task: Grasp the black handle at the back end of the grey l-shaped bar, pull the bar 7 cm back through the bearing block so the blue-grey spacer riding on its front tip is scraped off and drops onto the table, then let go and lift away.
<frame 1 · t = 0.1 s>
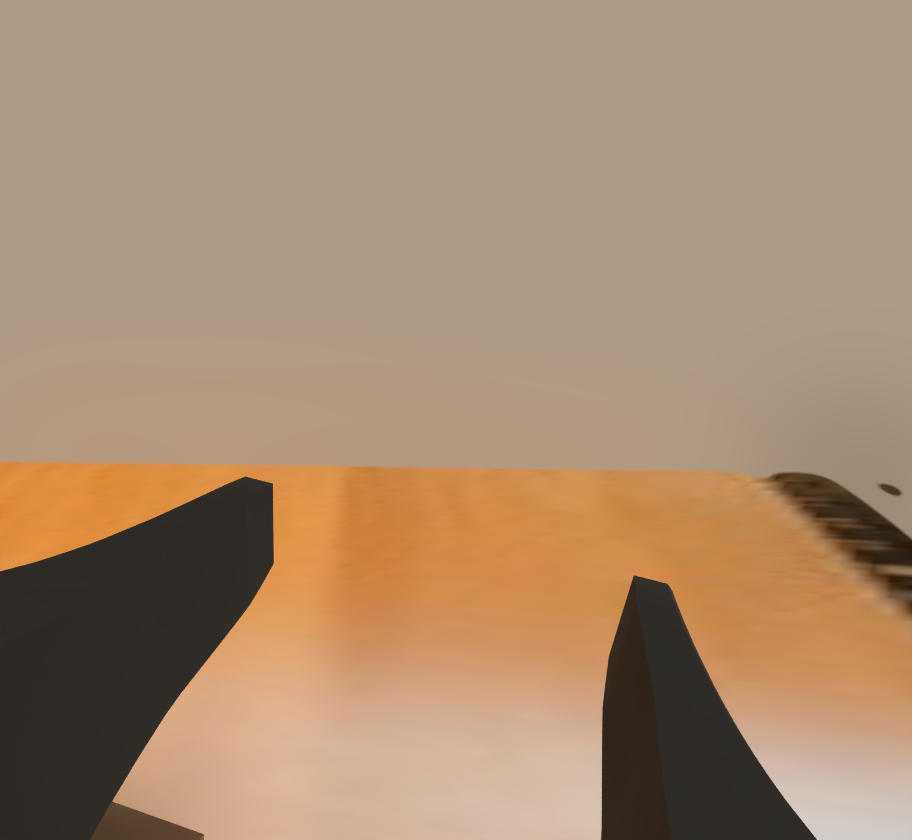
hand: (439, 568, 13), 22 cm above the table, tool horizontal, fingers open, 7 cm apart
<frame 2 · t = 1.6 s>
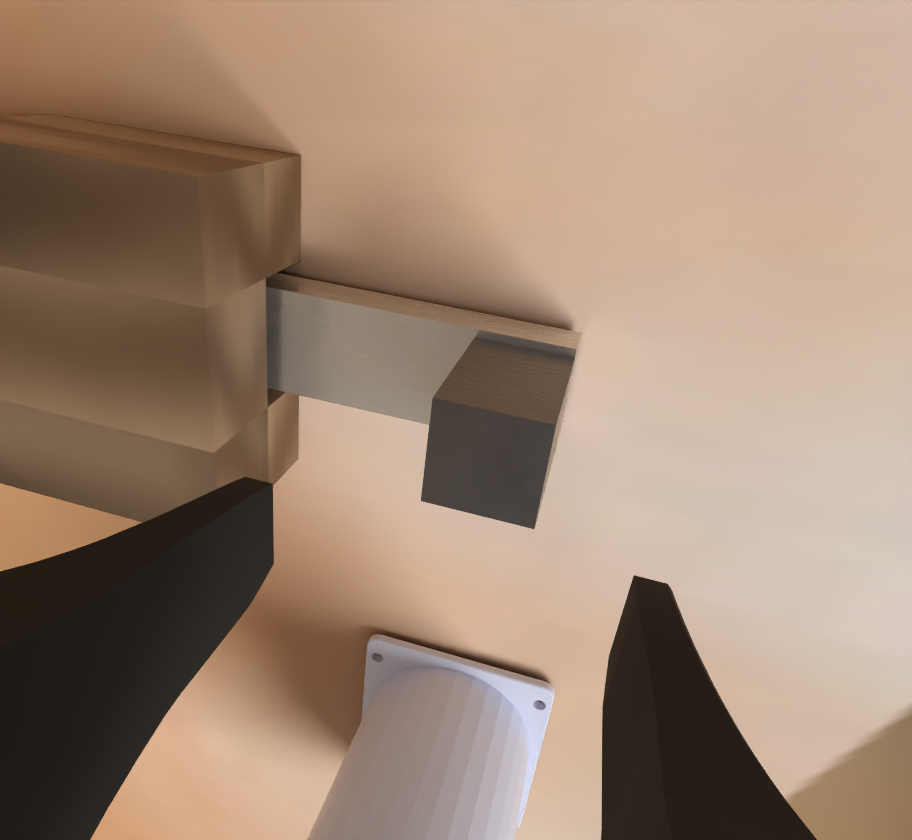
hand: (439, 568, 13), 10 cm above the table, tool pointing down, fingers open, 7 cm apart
grey l-shaped bar: (177, 340, 21), point 3 cm above the table, slide at 0.0 cm, touching spacer
bearing block: (182, 299, 24), on the table
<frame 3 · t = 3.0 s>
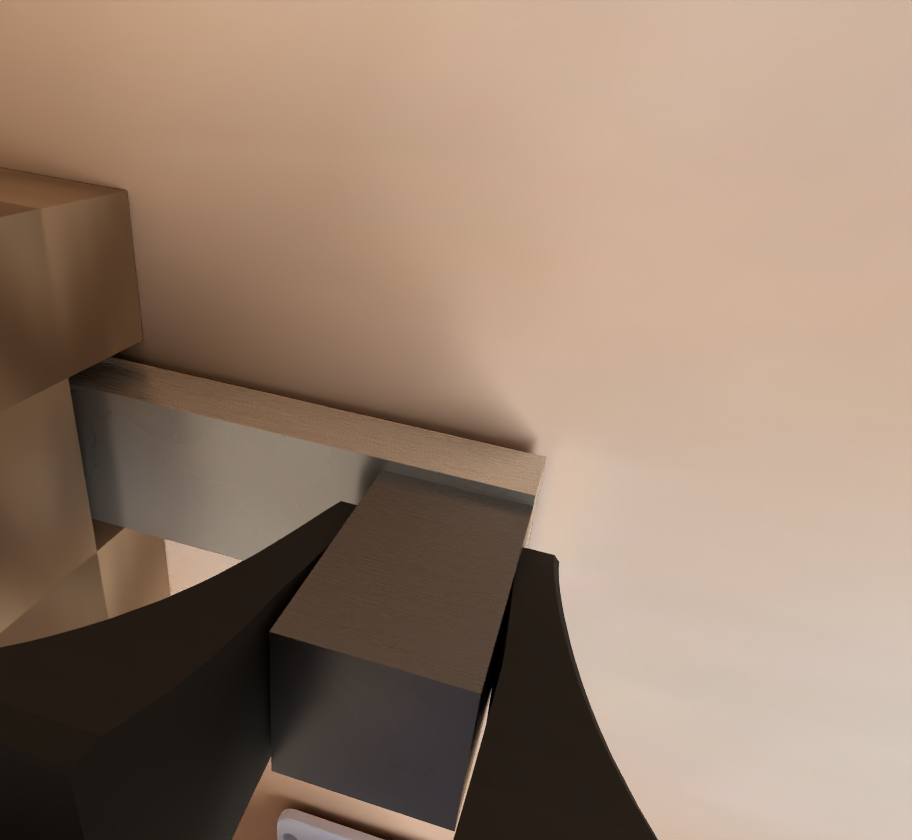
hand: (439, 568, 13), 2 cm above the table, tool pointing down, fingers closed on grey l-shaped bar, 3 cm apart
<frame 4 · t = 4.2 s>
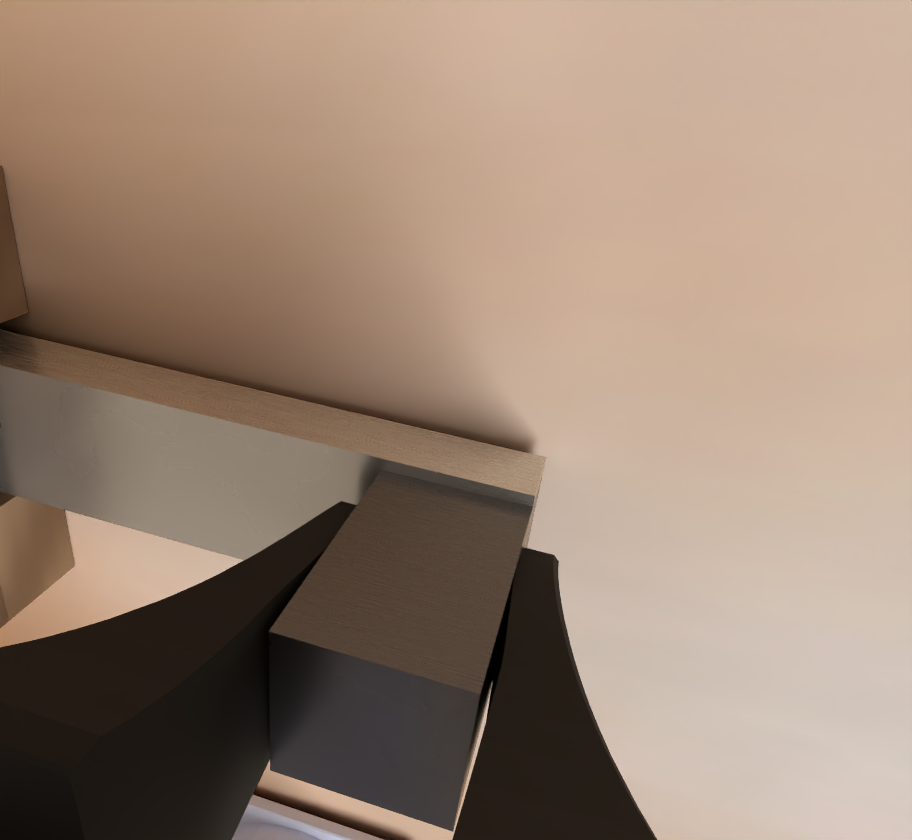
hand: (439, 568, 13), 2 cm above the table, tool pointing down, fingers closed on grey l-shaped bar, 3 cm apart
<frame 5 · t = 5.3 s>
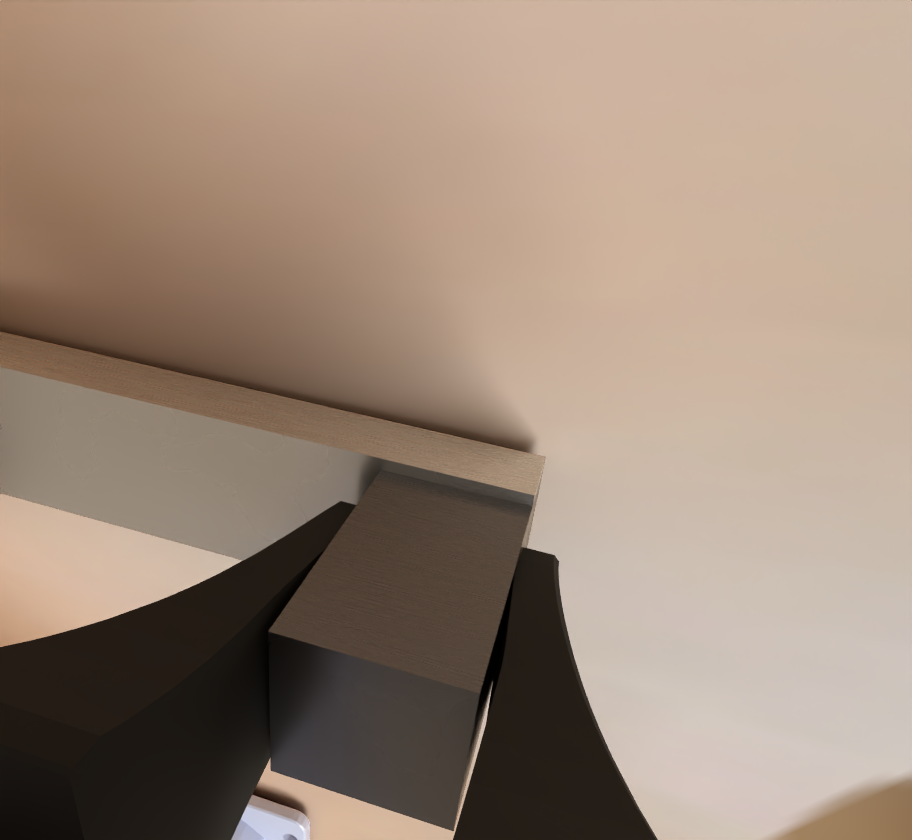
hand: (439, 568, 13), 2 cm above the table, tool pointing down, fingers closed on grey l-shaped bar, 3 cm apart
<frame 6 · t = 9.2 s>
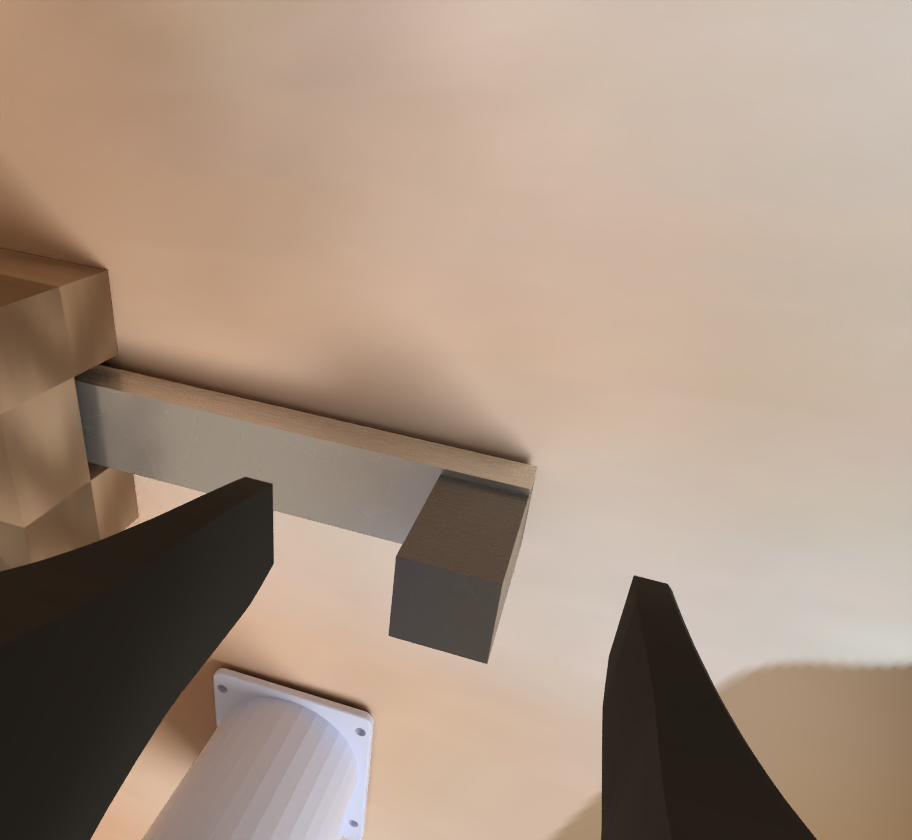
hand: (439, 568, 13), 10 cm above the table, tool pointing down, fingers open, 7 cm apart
grey l-shaped bar: (174, 472, 24), point 3 cm above the table, slide at 7.0 cm
bearing block: (27, 381, 28), on the table
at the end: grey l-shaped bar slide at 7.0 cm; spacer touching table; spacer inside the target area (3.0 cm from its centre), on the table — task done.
